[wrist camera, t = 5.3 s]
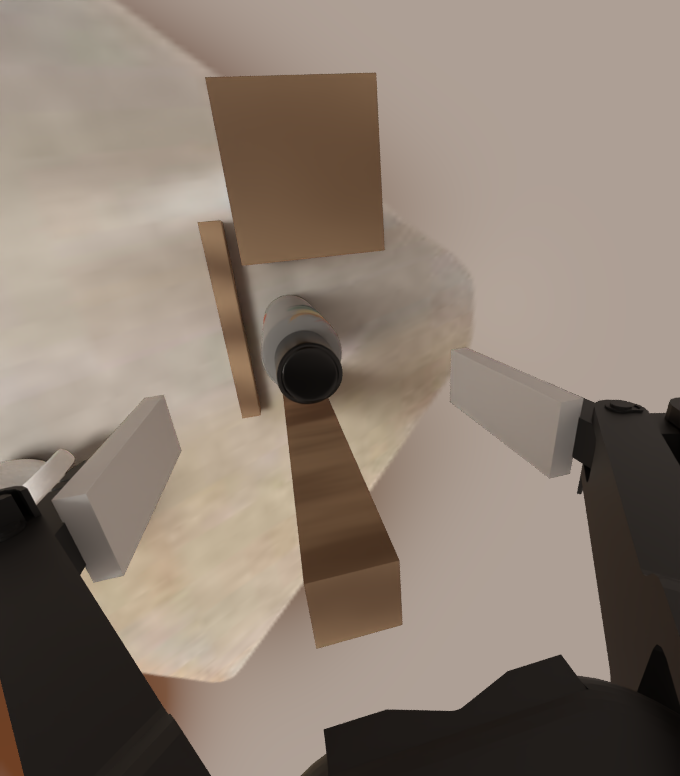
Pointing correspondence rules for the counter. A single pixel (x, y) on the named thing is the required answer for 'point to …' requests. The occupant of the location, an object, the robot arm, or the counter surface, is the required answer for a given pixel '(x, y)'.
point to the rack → (293, 242)
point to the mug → (36, 473)
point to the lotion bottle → (300, 351)
